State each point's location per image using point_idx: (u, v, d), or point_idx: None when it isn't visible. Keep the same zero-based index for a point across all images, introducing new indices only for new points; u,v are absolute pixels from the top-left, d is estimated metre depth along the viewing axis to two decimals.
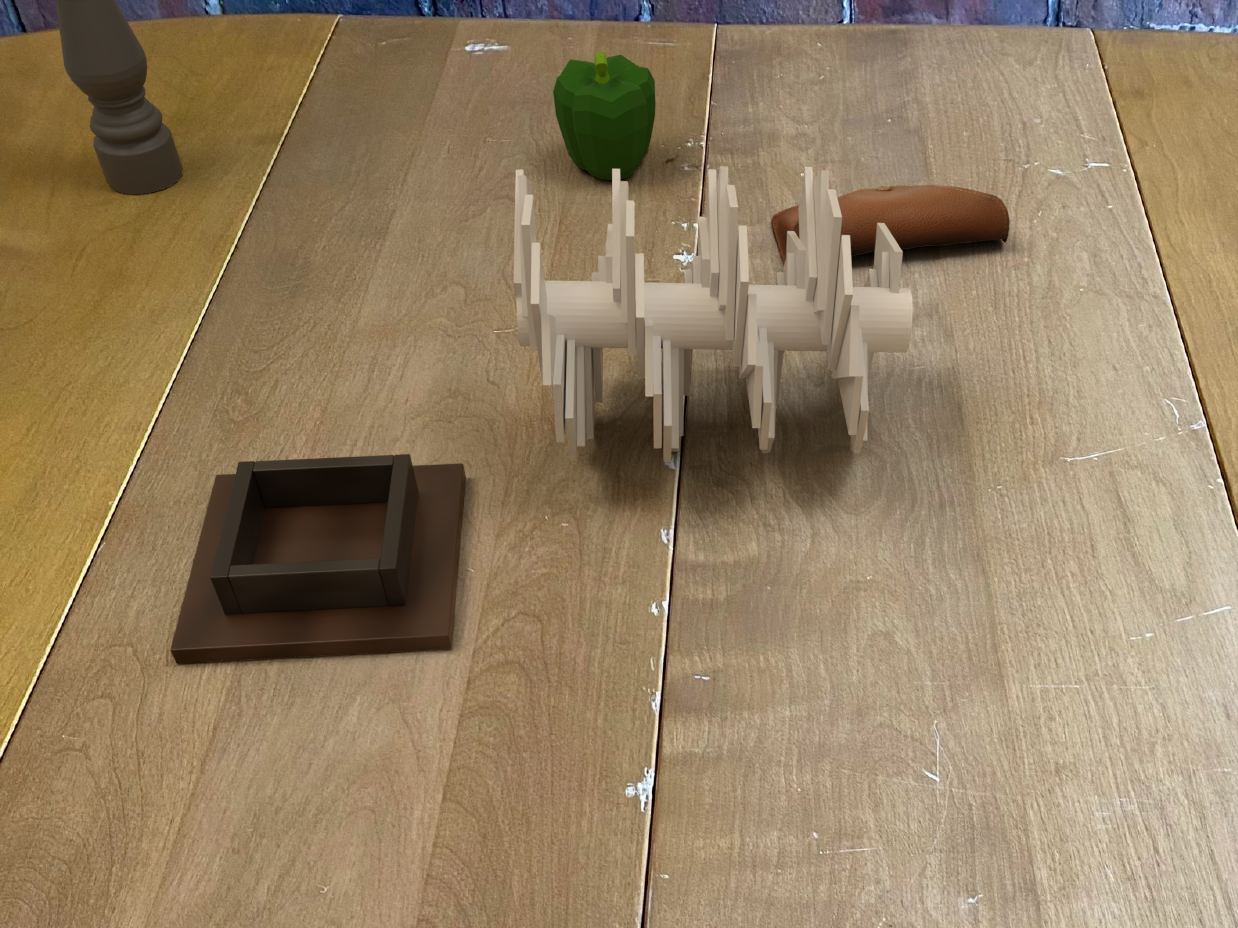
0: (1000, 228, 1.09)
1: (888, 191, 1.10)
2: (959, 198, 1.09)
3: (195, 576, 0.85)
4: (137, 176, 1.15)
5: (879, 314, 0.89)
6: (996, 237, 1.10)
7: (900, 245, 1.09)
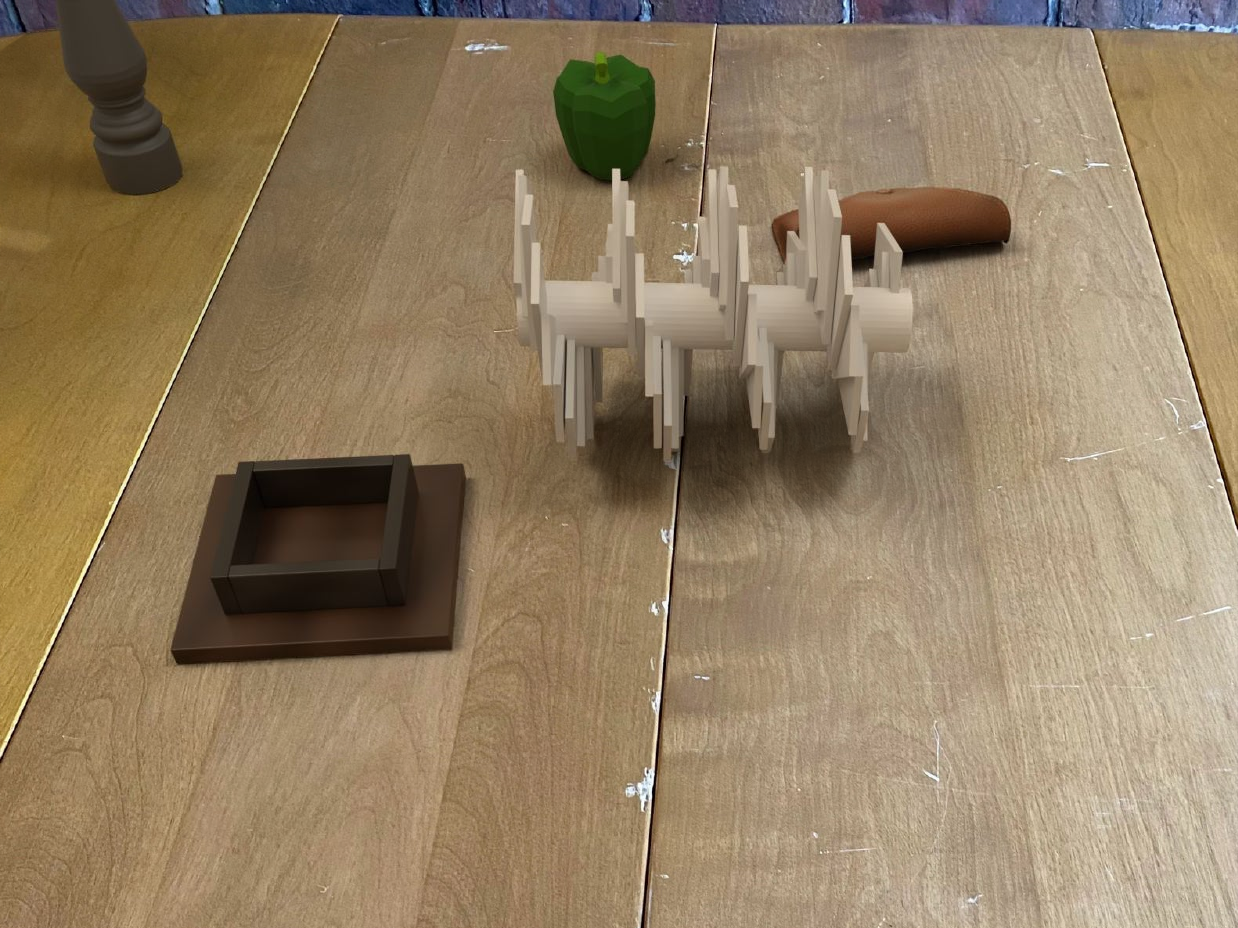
0: (1002, 229, 1.09)
1: (889, 194, 1.10)
2: (961, 200, 1.08)
3: (195, 576, 0.85)
4: (137, 176, 1.15)
5: (879, 315, 0.89)
6: (998, 238, 1.10)
7: (902, 248, 1.08)
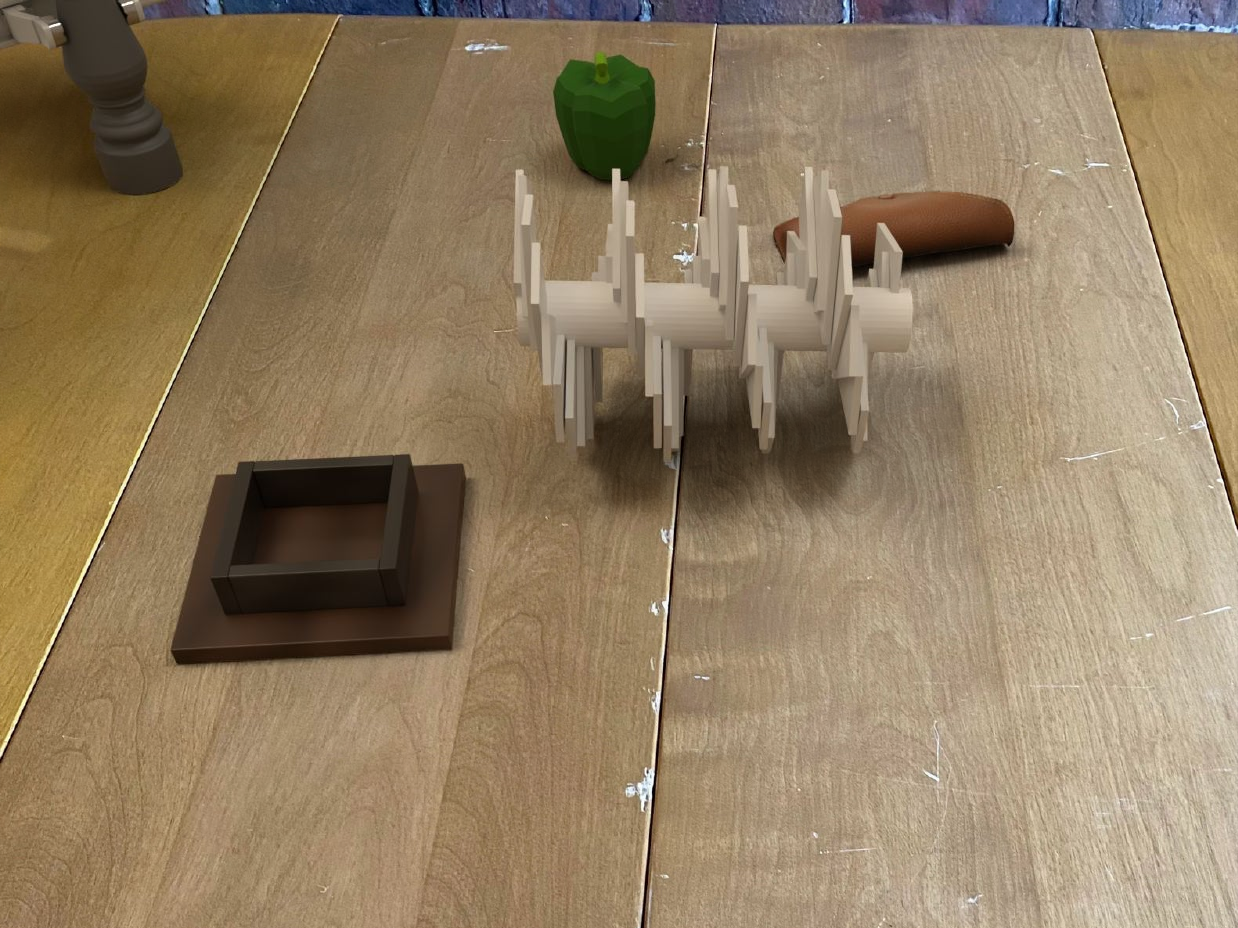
0: (1005, 232, 1.09)
1: (891, 199, 1.09)
2: (964, 203, 1.08)
3: (195, 576, 0.85)
4: (137, 176, 1.15)
5: (879, 315, 0.89)
6: (1002, 241, 1.09)
7: (908, 253, 1.08)
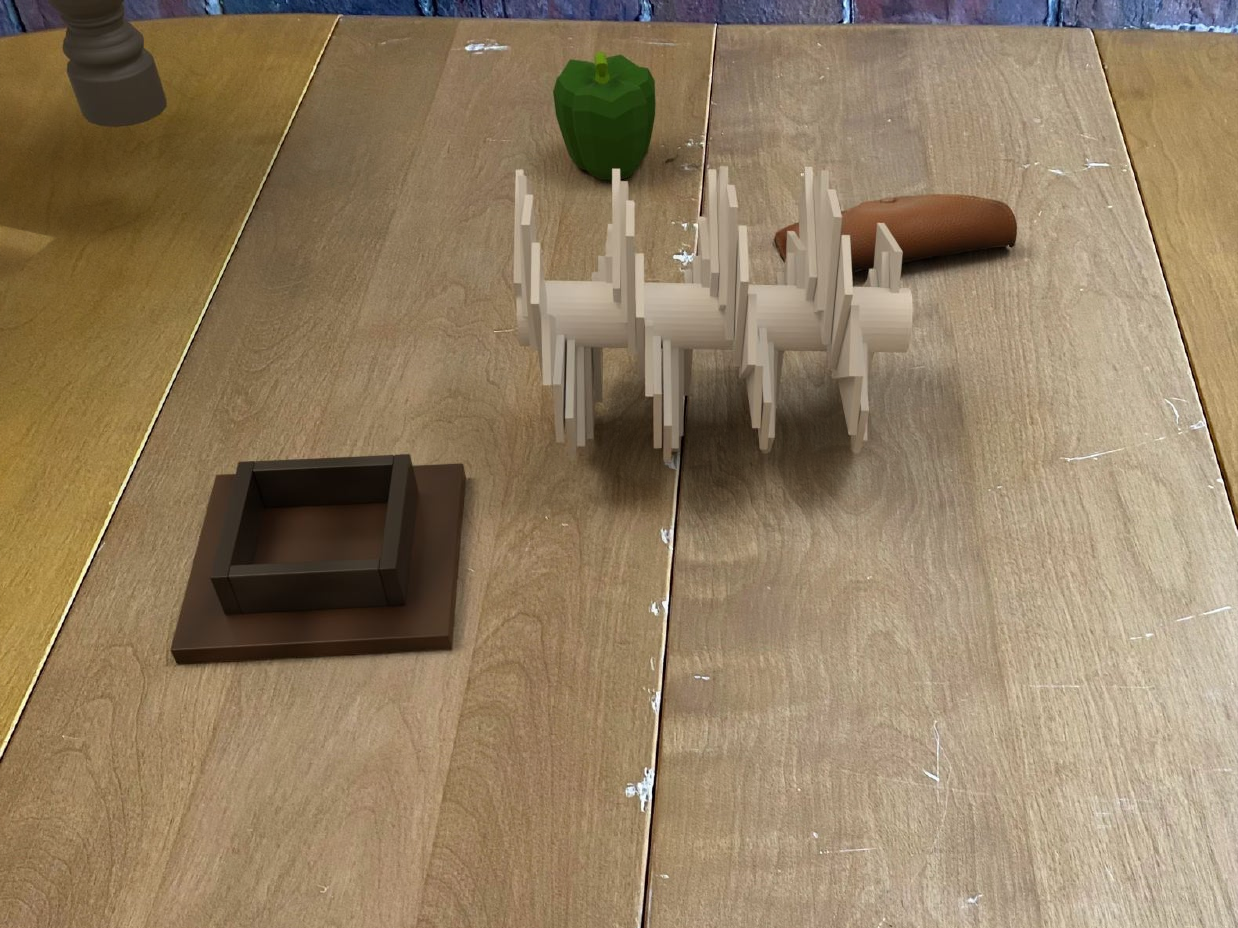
0: (1008, 234, 1.09)
1: (893, 202, 1.09)
2: (966, 206, 1.08)
3: (195, 576, 0.85)
4: (116, 105, 1.03)
5: (879, 314, 0.89)
6: (1005, 243, 1.09)
7: (911, 256, 1.07)
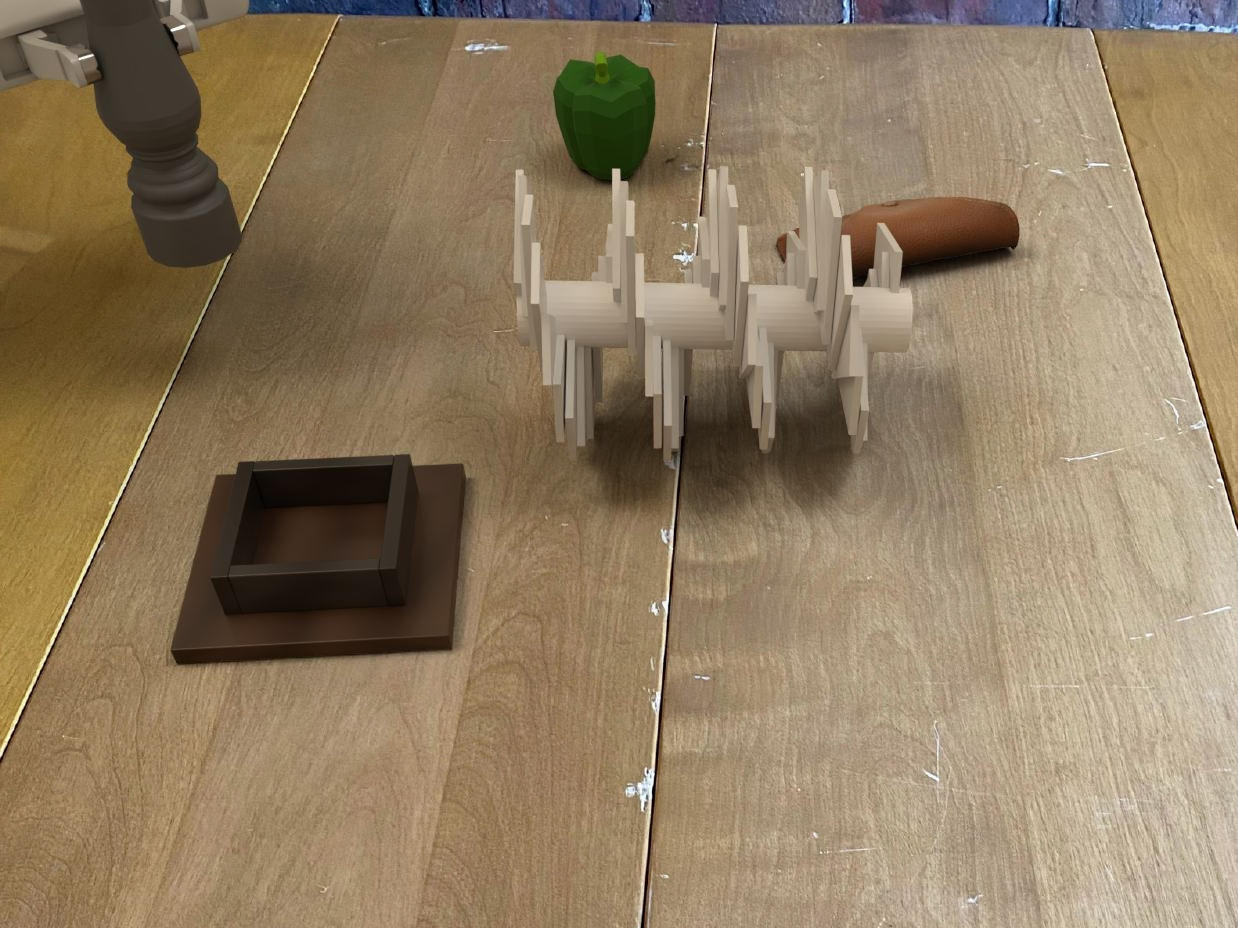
0: (1011, 235, 1.09)
1: (895, 206, 1.09)
2: (969, 208, 1.08)
3: (195, 576, 0.85)
4: (187, 245, 0.90)
5: (879, 315, 0.89)
6: (1007, 244, 1.09)
7: (916, 260, 1.07)
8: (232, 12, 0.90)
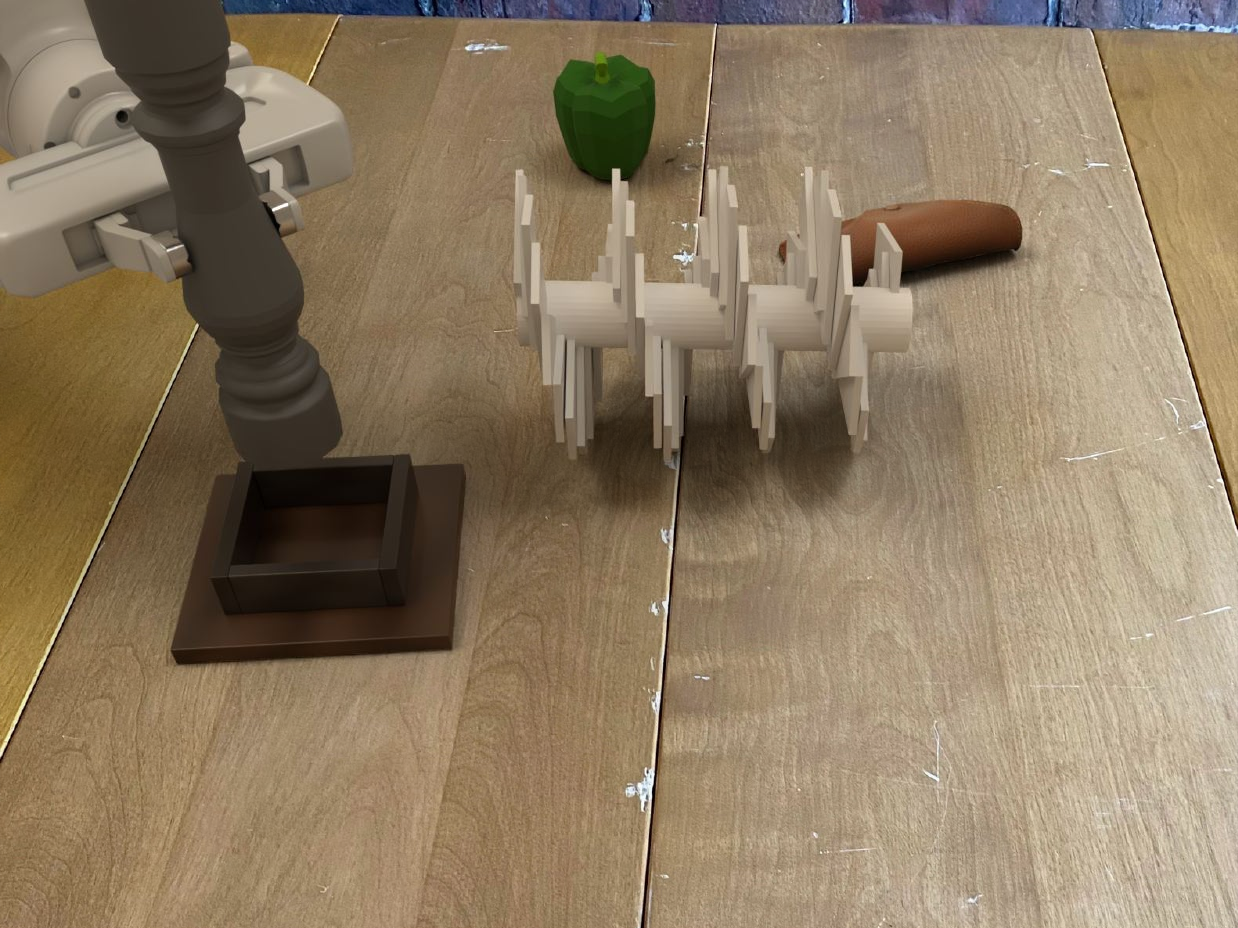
0: (1014, 237, 1.09)
1: (897, 210, 1.08)
2: (972, 211, 1.07)
3: (195, 576, 0.85)
4: (283, 445, 0.78)
5: (879, 315, 0.89)
6: (1011, 246, 1.09)
7: (920, 264, 1.07)
8: (336, 175, 0.77)
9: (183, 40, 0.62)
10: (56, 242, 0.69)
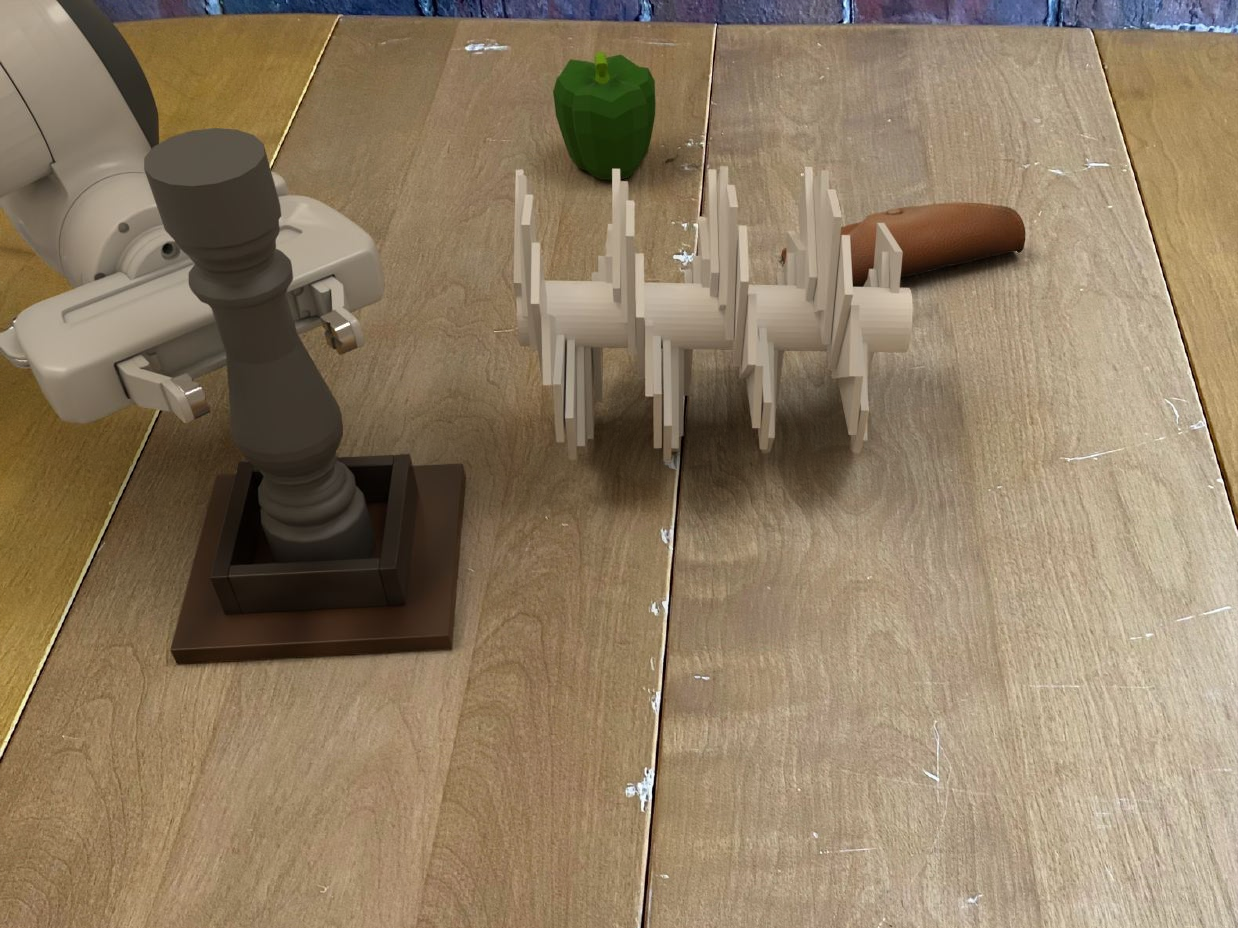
0: (1017, 239, 1.08)
1: (900, 214, 1.08)
2: (975, 214, 1.07)
3: (195, 576, 0.85)
4: None
5: (879, 315, 0.89)
6: (1014, 248, 1.09)
7: (925, 267, 1.06)
8: (367, 299, 0.82)
9: (239, 218, 0.67)
10: (108, 374, 0.74)
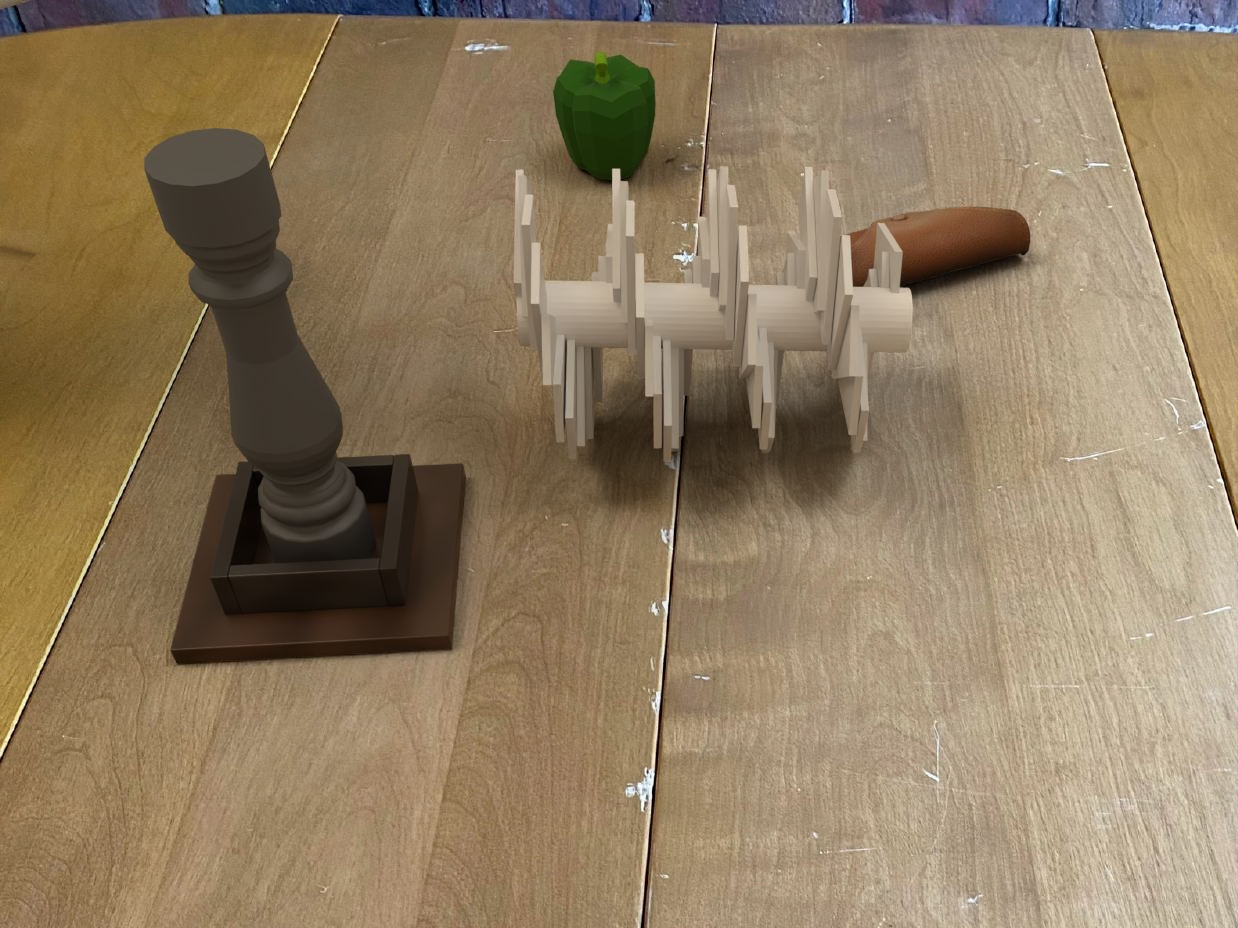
0: (1023, 242, 1.08)
1: (905, 220, 1.07)
2: (981, 217, 1.07)
3: (195, 576, 0.85)
4: None
5: (879, 315, 0.89)
6: (1019, 251, 1.09)
7: (933, 273, 1.06)
8: None
9: (239, 218, 0.67)
10: None
